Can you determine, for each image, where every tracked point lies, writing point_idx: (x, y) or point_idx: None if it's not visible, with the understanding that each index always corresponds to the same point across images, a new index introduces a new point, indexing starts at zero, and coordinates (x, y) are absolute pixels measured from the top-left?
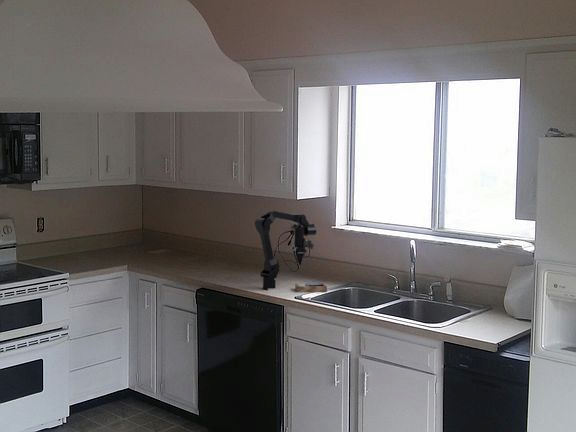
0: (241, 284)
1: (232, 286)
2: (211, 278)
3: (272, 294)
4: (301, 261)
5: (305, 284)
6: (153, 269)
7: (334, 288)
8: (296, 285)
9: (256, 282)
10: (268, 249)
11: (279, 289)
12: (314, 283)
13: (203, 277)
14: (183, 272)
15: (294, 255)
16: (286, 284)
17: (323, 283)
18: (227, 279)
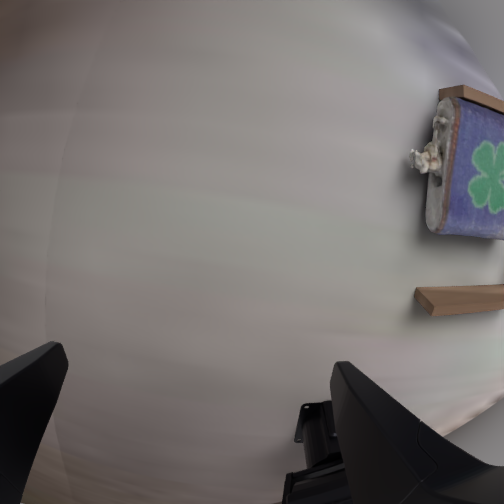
0: (213, 483)
1: (267, 500)
2: (90, 495)
3: (495, 389)
4: (384, 393)
5: (442, 233)
6: (21, 499)
7: (428, 11)
8: (482, 309)
9: (143, 441)
10: None
11: (405, 378)
12: (456, 157)
13: (80, 498)
14: (26, 488)
15: (29, 470)
16: (205, 329)
17: (476, 90)
18: (93, 479)
